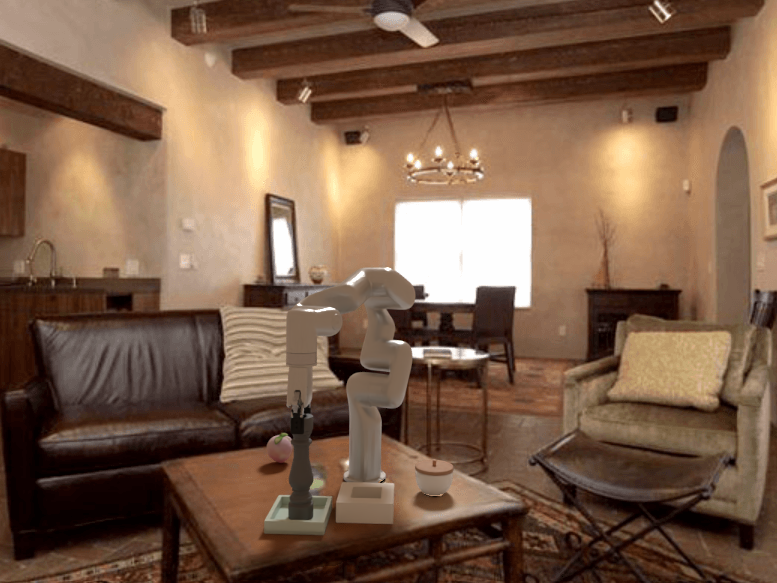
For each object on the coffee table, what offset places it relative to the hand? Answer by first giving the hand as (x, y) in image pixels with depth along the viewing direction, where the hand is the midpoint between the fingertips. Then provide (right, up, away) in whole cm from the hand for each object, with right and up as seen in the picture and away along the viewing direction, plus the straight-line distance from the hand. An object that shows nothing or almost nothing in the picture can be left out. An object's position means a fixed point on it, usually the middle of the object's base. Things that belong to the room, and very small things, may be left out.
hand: (300, 428), depth 145 cm
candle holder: (0, -22, +1) cm, 22 cm away
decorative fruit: (-13, -21, +43) cm, 50 cm away
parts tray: (0, -23, +1) cm, 23 cm away
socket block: (+16, -23, +6) cm, 28 cm away
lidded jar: (+34, -23, +20) cm, 46 cm away
